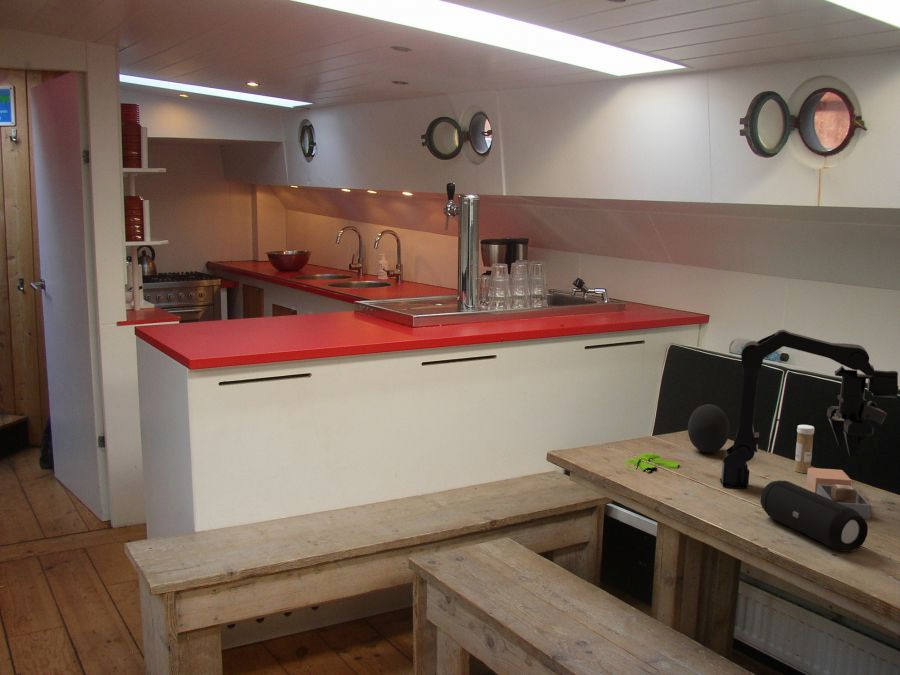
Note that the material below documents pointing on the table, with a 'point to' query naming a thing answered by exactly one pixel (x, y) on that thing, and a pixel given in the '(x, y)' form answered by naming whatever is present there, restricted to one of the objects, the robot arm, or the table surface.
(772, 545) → the table surface
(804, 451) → the sprinkles bottle
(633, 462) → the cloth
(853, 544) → the portable speaker
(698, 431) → the decorative egg
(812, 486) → the terracotta stand
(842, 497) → the walnut box
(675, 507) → the table surface
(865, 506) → the charcoal bin
